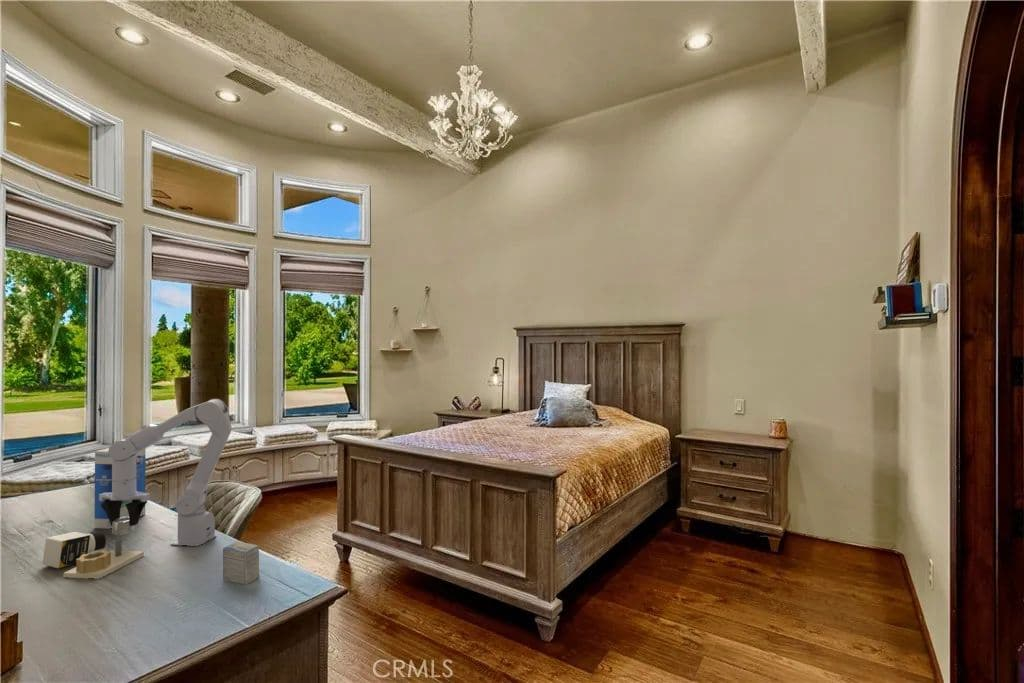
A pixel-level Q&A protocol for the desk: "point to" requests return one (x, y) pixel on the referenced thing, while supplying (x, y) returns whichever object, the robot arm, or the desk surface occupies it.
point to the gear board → (102, 562)
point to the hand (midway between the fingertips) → (124, 524)
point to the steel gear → (122, 526)
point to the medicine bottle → (71, 547)
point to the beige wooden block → (240, 562)
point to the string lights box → (105, 485)
